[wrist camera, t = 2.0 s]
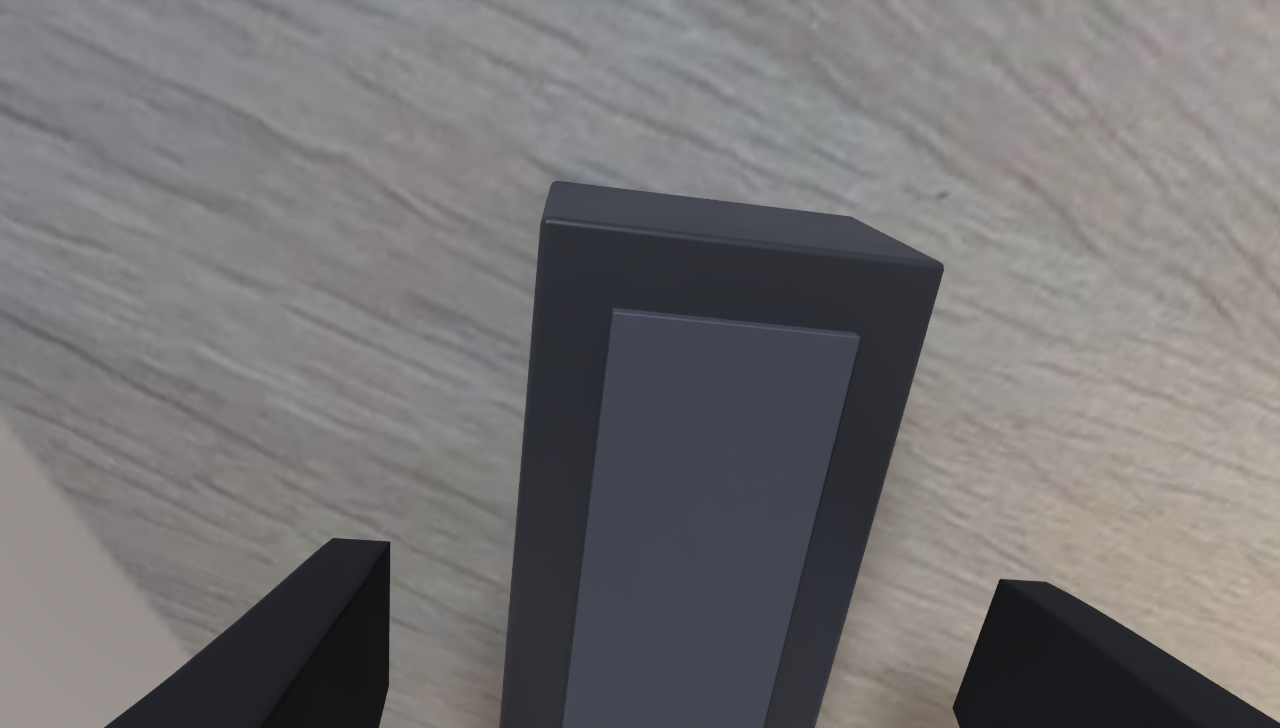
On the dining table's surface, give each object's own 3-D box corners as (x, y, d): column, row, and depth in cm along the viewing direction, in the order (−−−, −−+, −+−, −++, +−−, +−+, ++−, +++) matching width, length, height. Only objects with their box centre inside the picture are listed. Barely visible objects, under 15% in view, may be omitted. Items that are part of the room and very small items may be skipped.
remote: (745, 684, 14) (789, 843, 11) (509, 673, 14) (490, 839, 11) (854, 216, 11) (954, 266, 8) (551, 179, 10) (540, 218, 7)
